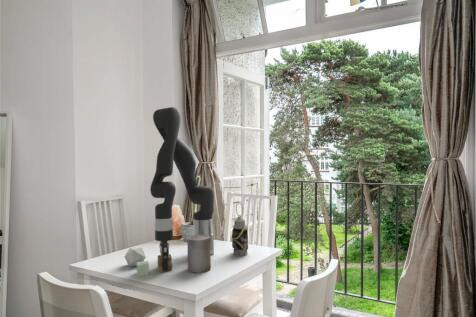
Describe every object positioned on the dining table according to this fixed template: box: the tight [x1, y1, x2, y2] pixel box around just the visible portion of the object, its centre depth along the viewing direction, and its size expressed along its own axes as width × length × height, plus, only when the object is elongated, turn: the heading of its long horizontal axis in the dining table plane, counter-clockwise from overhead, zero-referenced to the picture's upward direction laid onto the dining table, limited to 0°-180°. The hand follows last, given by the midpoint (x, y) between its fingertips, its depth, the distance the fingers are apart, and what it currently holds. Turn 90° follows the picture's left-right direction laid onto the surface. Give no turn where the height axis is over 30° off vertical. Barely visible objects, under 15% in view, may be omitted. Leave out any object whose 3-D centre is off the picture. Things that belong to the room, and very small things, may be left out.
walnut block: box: [157, 253, 173, 273], centre depth 150 cm, size 6×6×6 cm
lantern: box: [231, 202, 249, 256], centre depth 171 cm, size 9×8×25 cm
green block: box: [136, 260, 150, 277], centre depth 144 cm, size 4×4×4 cm
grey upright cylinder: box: [186, 234, 212, 274], centre depth 149 cm, size 10×10×15 cm
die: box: [124, 246, 147, 268], centre depth 156 cm, size 8×9×10 cm
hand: (164, 267), depth 150 cm, fingers closed on walnut block, 5 cm apart
